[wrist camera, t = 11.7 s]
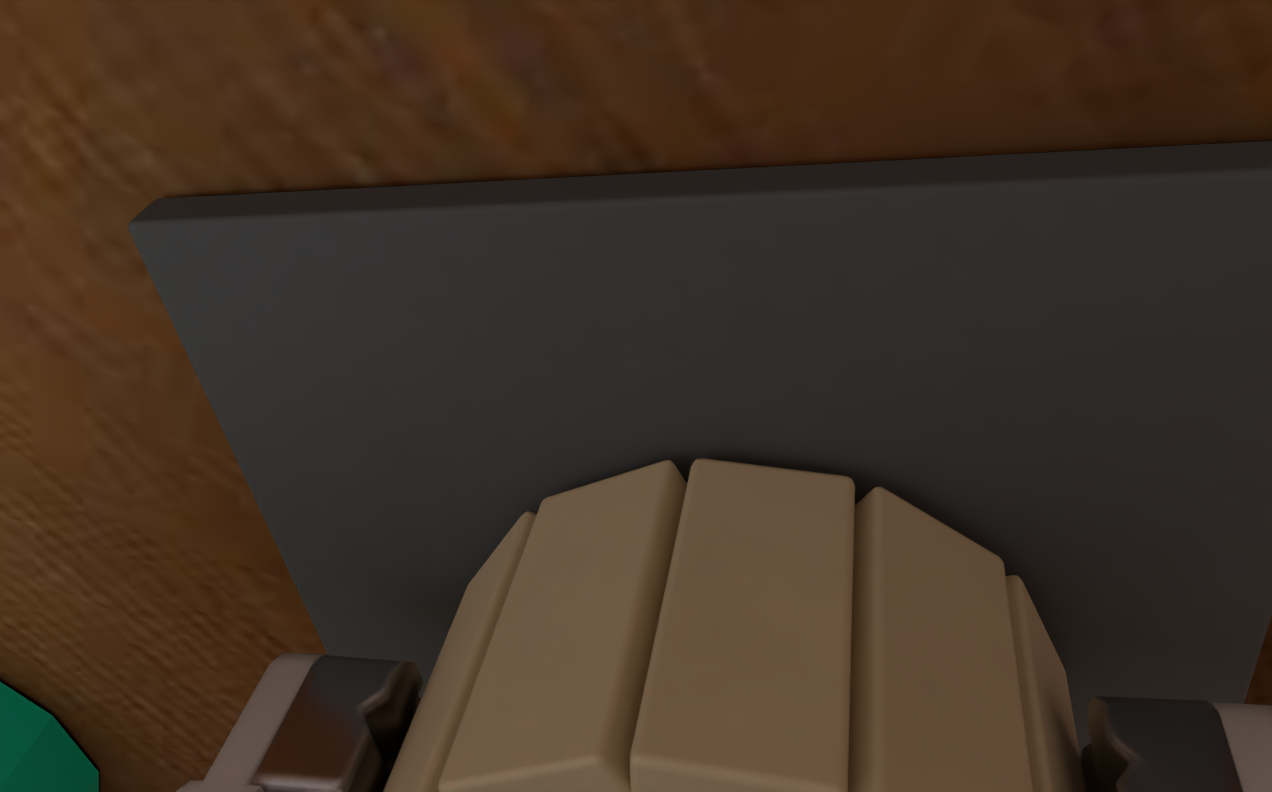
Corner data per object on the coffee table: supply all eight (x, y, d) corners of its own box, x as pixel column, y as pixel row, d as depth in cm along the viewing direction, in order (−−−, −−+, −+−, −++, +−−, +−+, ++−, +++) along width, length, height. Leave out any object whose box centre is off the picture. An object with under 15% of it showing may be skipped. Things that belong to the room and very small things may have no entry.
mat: (154, 196, 11) (122, 224, 10) (1390, 131, 8) (1420, 163, 8) (412, 777, 17) (399, 812, 16) (1178, 840, 14) (1189, 884, 14)
